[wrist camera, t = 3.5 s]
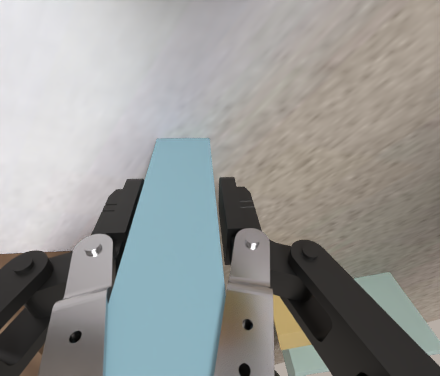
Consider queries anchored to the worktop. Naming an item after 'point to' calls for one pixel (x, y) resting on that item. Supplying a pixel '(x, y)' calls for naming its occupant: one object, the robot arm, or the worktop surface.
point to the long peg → (170, 271)
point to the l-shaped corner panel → (393, 305)
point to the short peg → (287, 327)
